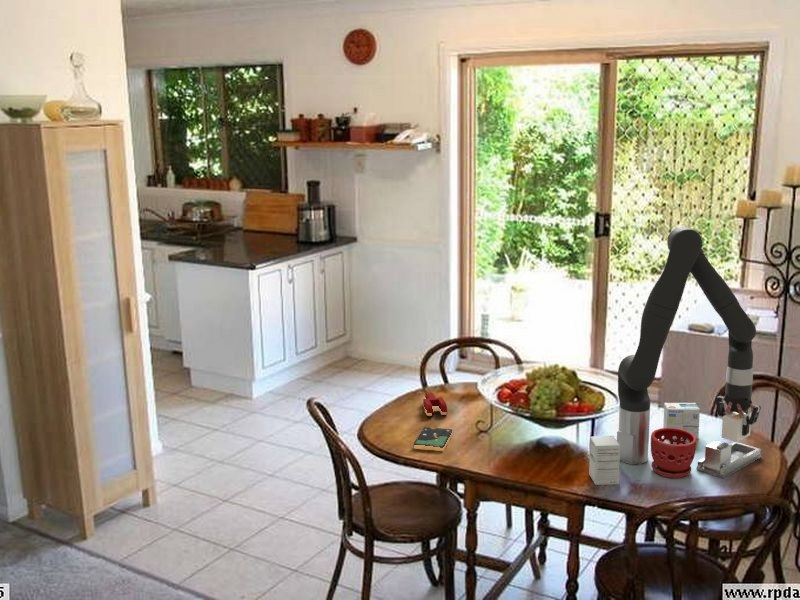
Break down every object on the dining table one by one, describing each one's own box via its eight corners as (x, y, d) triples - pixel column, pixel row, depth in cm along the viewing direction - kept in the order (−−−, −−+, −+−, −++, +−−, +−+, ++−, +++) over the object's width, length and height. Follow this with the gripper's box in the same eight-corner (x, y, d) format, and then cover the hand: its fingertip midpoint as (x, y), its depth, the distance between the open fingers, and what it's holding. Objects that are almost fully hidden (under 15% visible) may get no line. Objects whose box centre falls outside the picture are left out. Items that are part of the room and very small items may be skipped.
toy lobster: (447, 417, 305) (447, 404, 304) (428, 419, 304) (427, 406, 303) (437, 402, 320) (437, 390, 319) (419, 404, 319) (418, 391, 318)
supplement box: (588, 474, 255) (589, 435, 252) (612, 473, 255) (614, 435, 252) (594, 485, 248) (595, 445, 245) (619, 484, 248) (620, 444, 245)
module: (736, 442, 255) (738, 418, 254) (721, 437, 259) (722, 414, 257) (750, 435, 260) (751, 411, 259) (734, 430, 264) (736, 407, 262)
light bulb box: (694, 432, 285) (695, 402, 282) (699, 439, 278) (700, 409, 276) (662, 431, 286) (663, 401, 283) (666, 439, 279) (667, 408, 277)
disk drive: (423, 434, 291) (413, 450, 277) (423, 426, 291) (413, 442, 277) (453, 436, 289) (444, 453, 275) (452, 428, 288) (443, 445, 274)
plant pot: (642, 473, 254) (643, 437, 252) (661, 459, 264) (662, 424, 261) (683, 485, 246) (685, 447, 243) (701, 470, 255) (703, 433, 253)
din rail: (723, 478, 249) (725, 451, 247) (696, 469, 256) (697, 443, 254) (760, 457, 263) (762, 432, 261) (733, 449, 270) (735, 424, 268)
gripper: (710, 378, 259) (708, 429, 262) (755, 389, 248) (752, 442, 252) (723, 372, 263) (720, 423, 267) (768, 383, 252) (764, 435, 256)
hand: (736, 432), depth 259 cm, fingers closed on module, 5 cm apart
